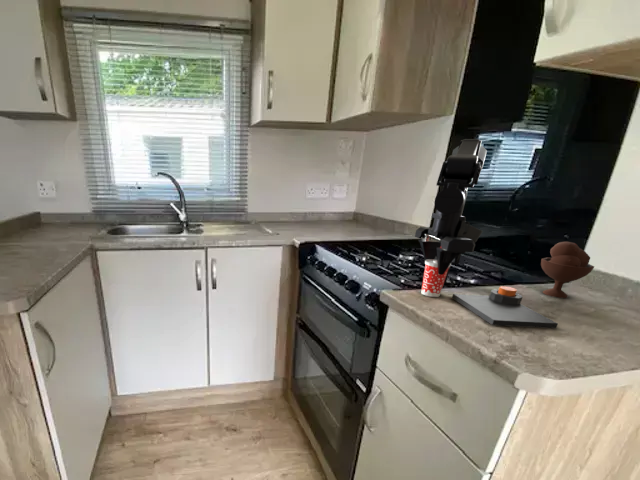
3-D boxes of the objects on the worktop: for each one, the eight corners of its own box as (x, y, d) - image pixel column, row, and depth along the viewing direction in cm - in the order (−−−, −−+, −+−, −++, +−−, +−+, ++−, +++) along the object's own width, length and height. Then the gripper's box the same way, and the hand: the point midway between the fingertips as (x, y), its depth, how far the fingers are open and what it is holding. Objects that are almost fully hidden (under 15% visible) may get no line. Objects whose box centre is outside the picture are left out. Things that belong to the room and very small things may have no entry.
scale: (451, 297, 94) (454, 287, 93) (507, 300, 94) (510, 289, 93) (492, 325, 78) (496, 312, 77) (559, 328, 78) (564, 316, 77)
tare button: (494, 292, 92) (496, 285, 91) (508, 292, 92) (510, 286, 91) (503, 297, 88) (505, 290, 88) (518, 297, 88) (520, 291, 88)
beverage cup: (414, 290, 99) (425, 240, 94) (435, 291, 99) (447, 241, 94) (424, 297, 93) (436, 244, 88) (447, 298, 93) (461, 245, 88)
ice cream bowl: (562, 302, 94) (584, 247, 89) (521, 289, 104) (539, 238, 99) (590, 300, 97) (613, 246, 92) (547, 287, 107) (566, 238, 101)
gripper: (507, 217, 80) (486, 283, 85) (461, 208, 97) (447, 263, 103) (457, 214, 80) (440, 280, 85) (420, 206, 97) (408, 261, 103)
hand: (434, 270), depth 94 cm, fingers open, 6 cm apart
